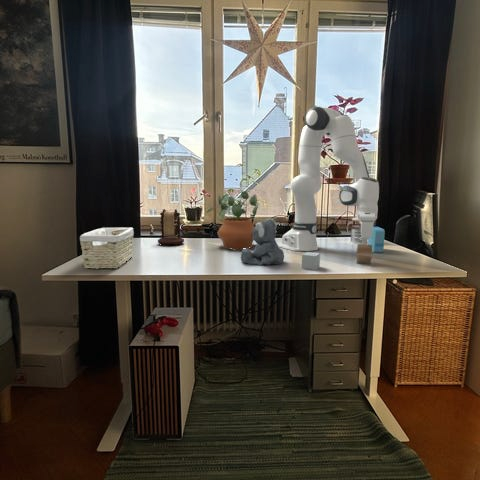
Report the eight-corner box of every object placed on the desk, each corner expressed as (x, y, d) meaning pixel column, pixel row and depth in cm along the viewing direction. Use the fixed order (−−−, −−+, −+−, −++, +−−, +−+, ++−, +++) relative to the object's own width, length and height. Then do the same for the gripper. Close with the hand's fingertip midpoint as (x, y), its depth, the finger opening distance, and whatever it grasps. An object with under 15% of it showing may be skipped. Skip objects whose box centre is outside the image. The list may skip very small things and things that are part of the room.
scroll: (154, 246, 193) (152, 210, 190) (162, 241, 208) (161, 207, 204) (180, 247, 191) (178, 210, 188) (187, 242, 206) (186, 208, 202)
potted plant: (256, 251, 180) (257, 192, 175) (203, 250, 183) (201, 192, 177) (258, 243, 202) (259, 190, 197) (210, 242, 205) (210, 190, 200)
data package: (383, 253, 176) (385, 229, 174) (374, 253, 177) (375, 229, 175) (375, 248, 188) (377, 226, 186) (367, 248, 188) (368, 226, 186)
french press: (369, 244, 199) (372, 200, 195) (348, 244, 199) (351, 200, 195) (363, 241, 209) (366, 199, 204) (343, 241, 209) (346, 199, 205)
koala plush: (256, 256, 170) (256, 216, 167) (290, 260, 161) (292, 218, 158) (238, 263, 156) (238, 219, 152) (274, 268, 147) (275, 222, 143)
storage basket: (102, 257, 167) (100, 226, 165) (136, 257, 168) (134, 226, 165) (80, 270, 144) (77, 235, 141) (120, 270, 144) (117, 235, 141)
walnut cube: (356, 252, 160) (357, 244, 156) (370, 252, 158) (371, 244, 154) (356, 262, 157) (357, 255, 152) (370, 263, 155) (371, 256, 150)
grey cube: (301, 268, 147) (302, 254, 146) (305, 265, 153) (306, 251, 152) (315, 270, 145) (316, 256, 144) (319, 266, 150) (320, 253, 149)
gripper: (358, 212, 165) (356, 241, 168) (359, 217, 146) (357, 249, 149) (372, 212, 164) (370, 241, 166) (375, 217, 144) (373, 250, 147)
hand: (364, 245), depth 157 cm, fingers closed
